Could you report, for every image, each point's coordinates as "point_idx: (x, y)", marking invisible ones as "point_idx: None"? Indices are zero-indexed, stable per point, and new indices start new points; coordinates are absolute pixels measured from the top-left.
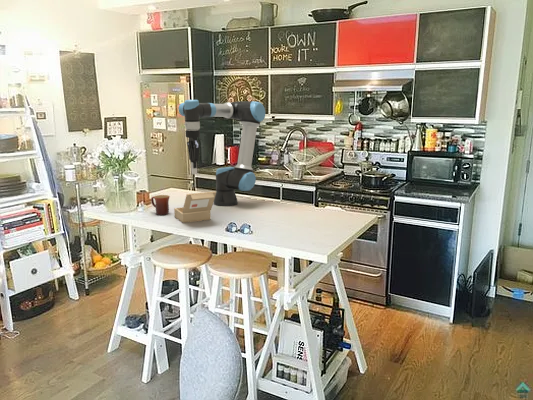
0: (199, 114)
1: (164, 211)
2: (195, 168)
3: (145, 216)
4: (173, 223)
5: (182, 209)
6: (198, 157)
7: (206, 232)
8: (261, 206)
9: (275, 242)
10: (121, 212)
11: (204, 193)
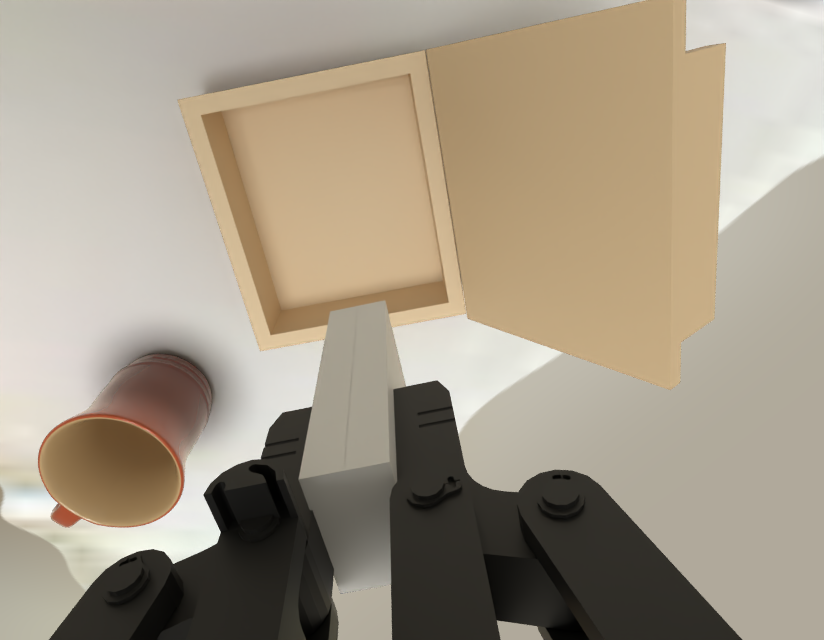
0: None
1: (205, 394)
2: (397, 391)
3: None
4: (446, 344)
5: (259, 283)
6: (689, 587)
7: (753, 161)
8: None
9: None
10: None
11: (683, 179)
